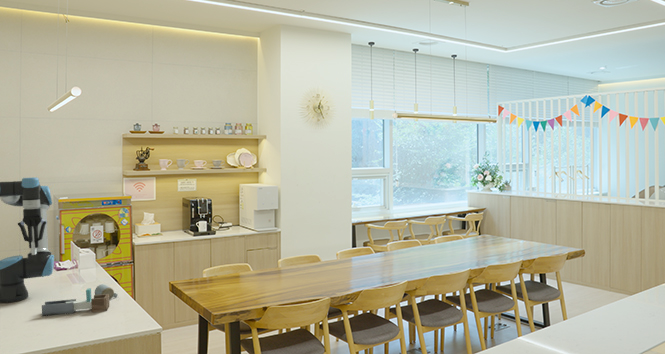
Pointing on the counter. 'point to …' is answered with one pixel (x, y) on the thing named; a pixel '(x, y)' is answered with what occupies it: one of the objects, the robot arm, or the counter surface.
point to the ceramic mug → (105, 291)
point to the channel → (58, 307)
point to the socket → (100, 303)
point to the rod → (83, 302)
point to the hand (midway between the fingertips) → (34, 254)
